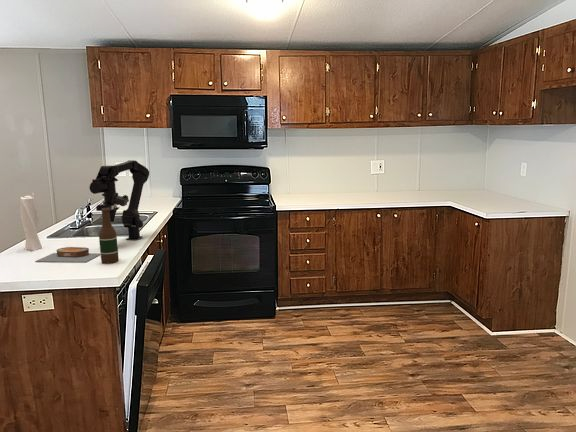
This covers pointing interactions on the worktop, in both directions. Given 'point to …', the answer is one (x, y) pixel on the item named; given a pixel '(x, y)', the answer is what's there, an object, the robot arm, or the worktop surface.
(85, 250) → the tin
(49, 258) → the slate mat
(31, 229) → the skyscraper
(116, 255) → the beer bottle
